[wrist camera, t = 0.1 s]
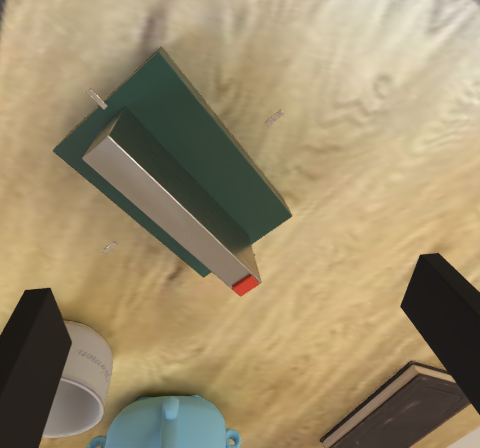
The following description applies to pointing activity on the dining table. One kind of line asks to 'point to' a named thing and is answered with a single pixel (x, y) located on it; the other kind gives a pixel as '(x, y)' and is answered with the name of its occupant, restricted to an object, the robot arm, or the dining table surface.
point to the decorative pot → (168, 425)
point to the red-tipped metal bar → (173, 199)
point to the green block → (181, 151)
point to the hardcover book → (401, 410)
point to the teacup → (81, 384)
